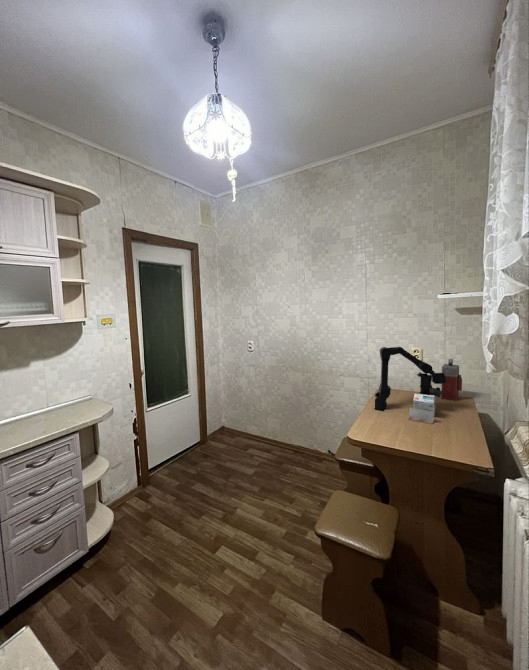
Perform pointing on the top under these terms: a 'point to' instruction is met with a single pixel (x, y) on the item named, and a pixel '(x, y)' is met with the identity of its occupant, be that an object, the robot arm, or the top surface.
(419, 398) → the light bulb box
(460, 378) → the red thermos jug
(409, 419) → the shelf plank
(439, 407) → the top surface
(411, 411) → the grey thin panel
